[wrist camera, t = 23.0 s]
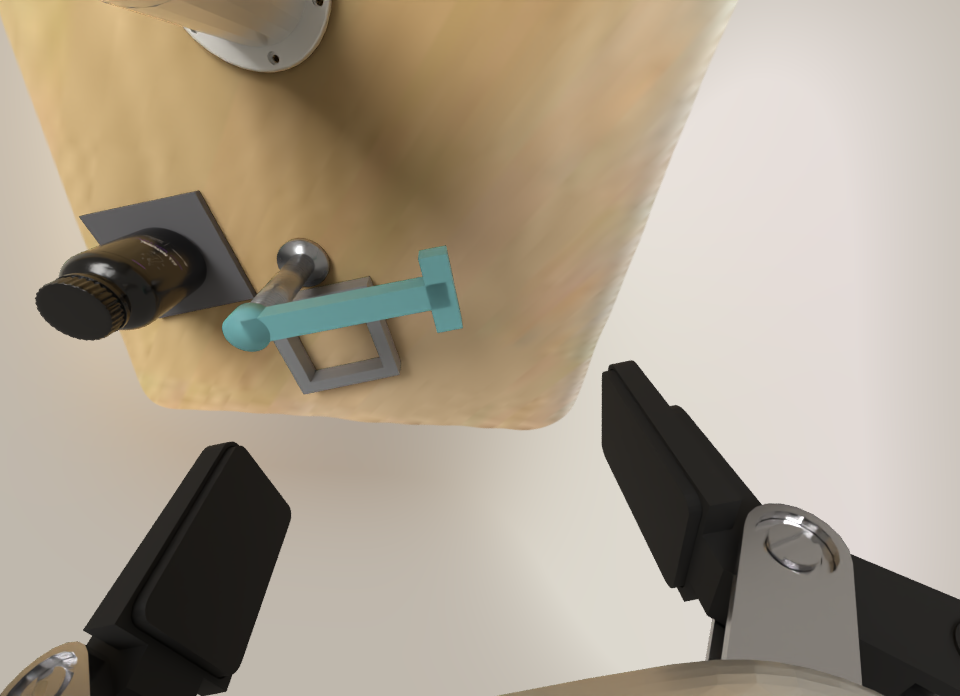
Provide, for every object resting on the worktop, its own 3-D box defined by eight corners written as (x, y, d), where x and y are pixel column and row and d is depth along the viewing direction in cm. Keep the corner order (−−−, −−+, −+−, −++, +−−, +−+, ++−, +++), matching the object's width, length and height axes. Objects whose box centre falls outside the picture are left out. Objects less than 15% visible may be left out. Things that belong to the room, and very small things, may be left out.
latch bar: (254, 356, 31) (245, 369, 29) (214, 290, 28) (201, 300, 26) (461, 317, 31) (462, 328, 29) (446, 245, 28) (446, 253, 26)
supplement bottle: (204, 232, 37) (118, 279, 27) (213, 295, 40) (140, 358, 30) (122, 218, 36) (-1, 261, 25) (139, 285, 39) (36, 347, 29)
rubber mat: (85, 214, 36) (78, 216, 35) (199, 190, 36) (194, 192, 35) (159, 315, 42) (155, 319, 41) (257, 295, 42) (254, 298, 41)
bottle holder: (263, 298, 42) (254, 308, 40) (369, 276, 42) (366, 285, 40) (309, 381, 48) (303, 394, 46) (401, 363, 48) (399, 374, 46)
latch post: (270, 243, 39) (208, 297, 28) (318, 233, 39) (273, 283, 28) (292, 287, 42) (243, 352, 31) (336, 278, 42) (303, 339, 31)
